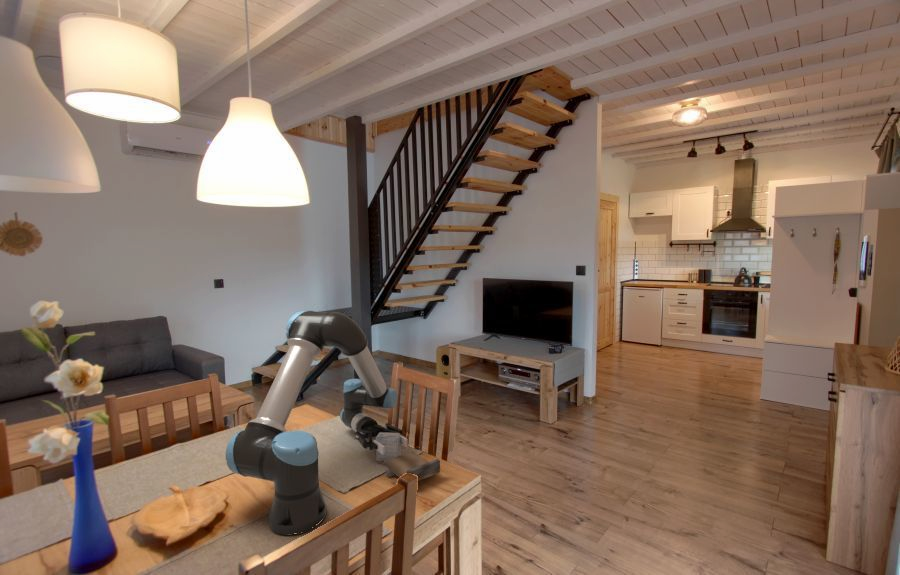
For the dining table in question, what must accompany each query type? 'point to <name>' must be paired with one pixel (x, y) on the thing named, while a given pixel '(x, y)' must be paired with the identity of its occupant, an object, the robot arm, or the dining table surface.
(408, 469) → the roller slab
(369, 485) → the dining table surface
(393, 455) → the medicine box
